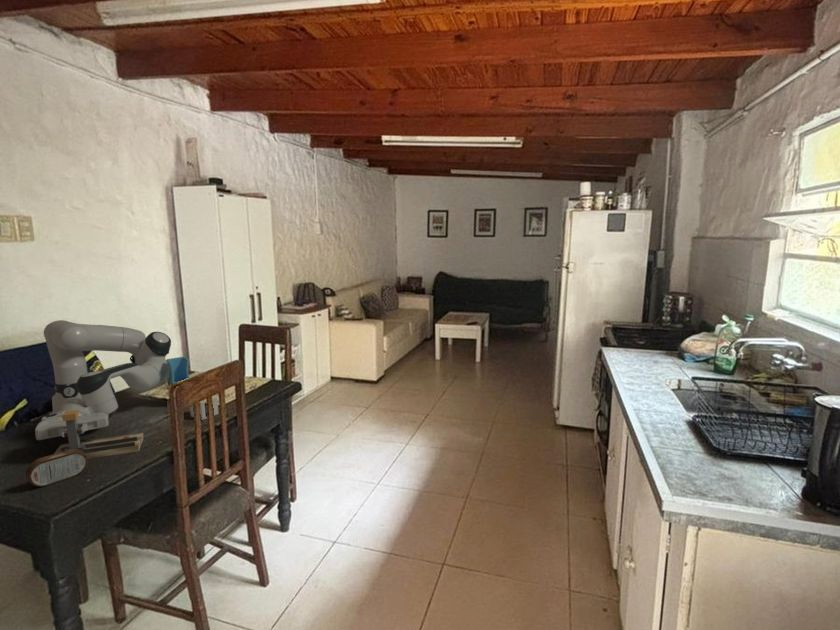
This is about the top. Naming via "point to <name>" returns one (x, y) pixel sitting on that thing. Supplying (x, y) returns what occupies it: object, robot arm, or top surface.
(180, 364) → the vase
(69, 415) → the fader lever
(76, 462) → the tin
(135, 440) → the fader board
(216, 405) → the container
